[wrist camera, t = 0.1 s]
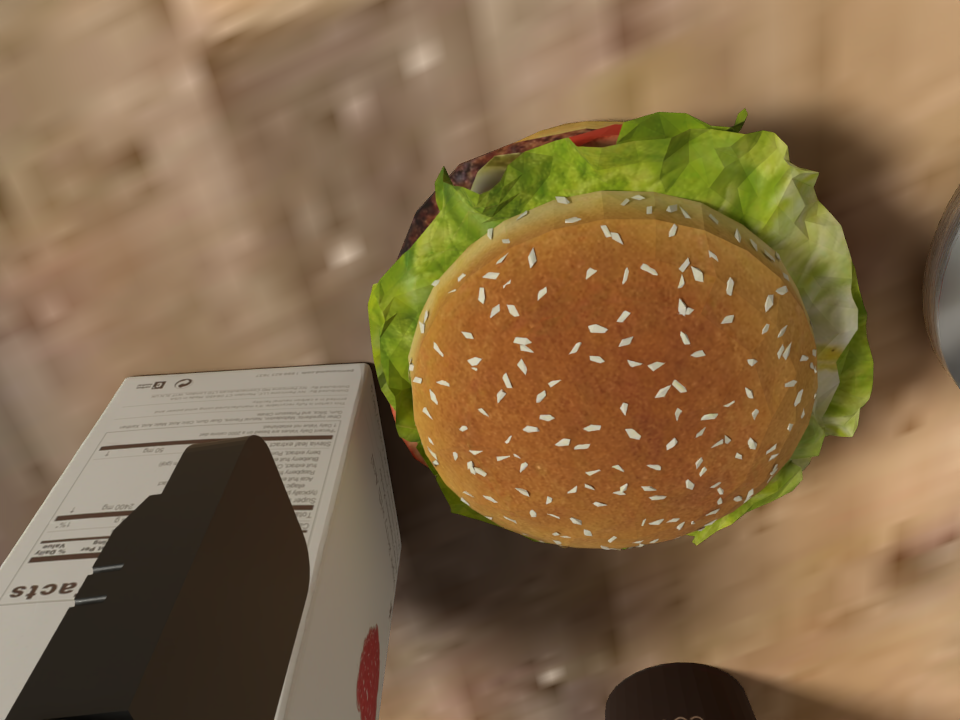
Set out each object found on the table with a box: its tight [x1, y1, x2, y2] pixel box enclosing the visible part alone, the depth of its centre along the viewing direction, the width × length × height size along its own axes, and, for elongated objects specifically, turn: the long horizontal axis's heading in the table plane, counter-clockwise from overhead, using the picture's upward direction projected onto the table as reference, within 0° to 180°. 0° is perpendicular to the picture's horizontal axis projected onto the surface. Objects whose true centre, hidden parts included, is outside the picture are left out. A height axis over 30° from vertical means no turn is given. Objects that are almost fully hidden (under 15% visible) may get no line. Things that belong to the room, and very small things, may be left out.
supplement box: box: [0, 363, 401, 720], centre depth 26 cm, size 9×9×15 cm
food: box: [368, 108, 873, 551], centre depth 25 cm, size 14×14×8 cm
